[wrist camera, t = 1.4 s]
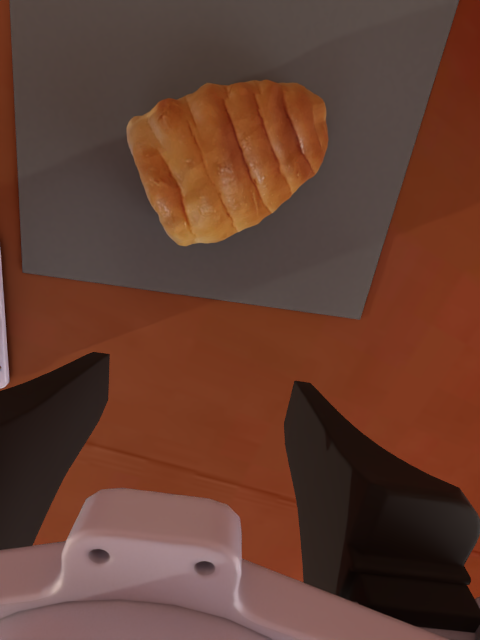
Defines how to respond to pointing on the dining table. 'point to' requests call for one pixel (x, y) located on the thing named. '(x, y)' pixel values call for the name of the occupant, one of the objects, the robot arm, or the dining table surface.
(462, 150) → the dining table surface
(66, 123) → the placemat
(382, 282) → the dining table surface
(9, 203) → the dining table surface
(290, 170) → the pastry
